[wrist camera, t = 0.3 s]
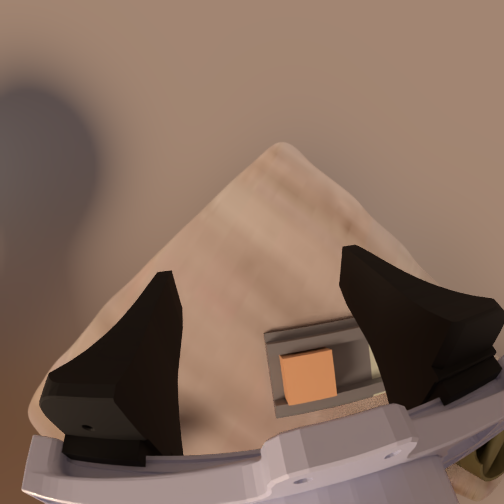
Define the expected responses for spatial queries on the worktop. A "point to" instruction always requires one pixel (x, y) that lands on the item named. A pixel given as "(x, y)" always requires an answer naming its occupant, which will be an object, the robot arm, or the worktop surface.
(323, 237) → the worktop surface
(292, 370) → the block
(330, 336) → the chute
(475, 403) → the robot arm
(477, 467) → the piston
